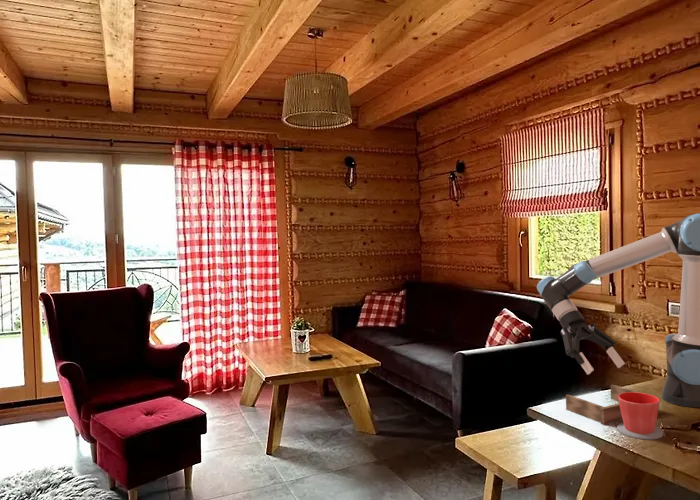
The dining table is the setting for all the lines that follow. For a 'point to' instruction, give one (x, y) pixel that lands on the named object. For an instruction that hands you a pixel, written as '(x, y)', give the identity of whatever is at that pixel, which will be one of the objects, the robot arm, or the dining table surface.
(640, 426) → the flower pot
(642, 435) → the slate mat
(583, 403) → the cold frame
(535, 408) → the dining table surface
